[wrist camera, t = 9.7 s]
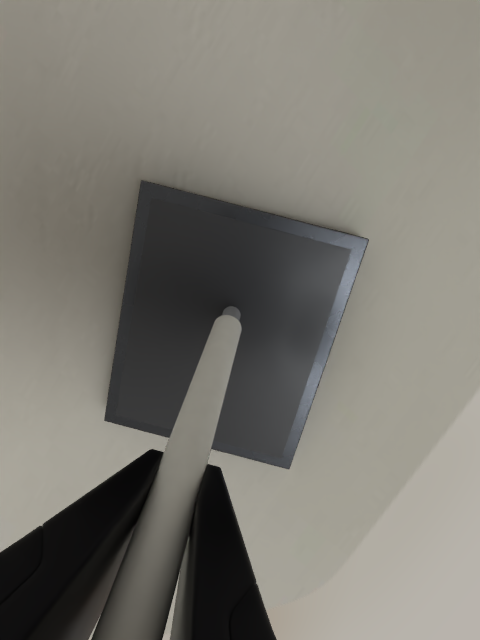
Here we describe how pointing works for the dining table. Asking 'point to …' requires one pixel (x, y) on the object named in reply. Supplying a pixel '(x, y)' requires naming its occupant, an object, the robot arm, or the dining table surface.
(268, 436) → the tablet
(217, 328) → the stylus
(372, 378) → the dining table surface
